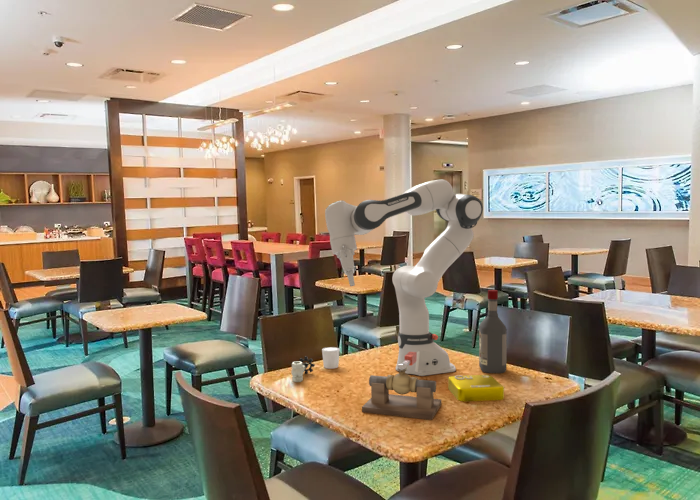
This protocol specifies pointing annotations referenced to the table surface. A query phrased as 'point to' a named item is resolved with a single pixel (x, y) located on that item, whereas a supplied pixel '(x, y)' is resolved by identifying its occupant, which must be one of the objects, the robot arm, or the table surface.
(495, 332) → the liquor
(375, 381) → the valve stand
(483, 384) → the element tile
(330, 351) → the white cylinder
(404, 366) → the valve lever
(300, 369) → the valve
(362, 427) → the table surface
